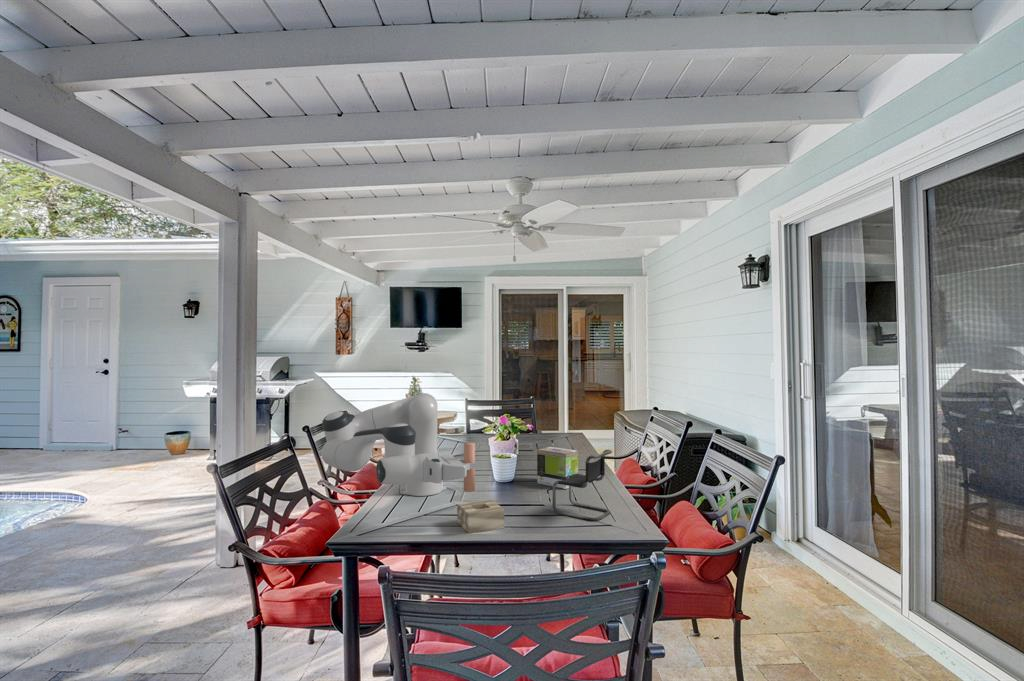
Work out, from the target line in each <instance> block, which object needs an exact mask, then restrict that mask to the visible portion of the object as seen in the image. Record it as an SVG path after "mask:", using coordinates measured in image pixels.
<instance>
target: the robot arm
mask: <svg viewBox="0 0 1024 681" xmlns="http://www.w3.org/2000/svg"><path fill="white" fill-rule="evenodd" d="M321 423H322V426H321V427H322V430H323V431H324V437H325V439H326V440H325V441H326V442H325V443H324V444H323V446H322V448H321V450H320V451H321V452H320V453H321V454H320V455H321V459H322V461H323V462H324V463H325V464H326V465H328V466H330V467H331V468H334V469H337V470H340V471H345V472H358V471H360V470H362V469H363V468H365V466H367V464H368V463H369V462H370V460H371V457H372V454H373V450H374V446H375V443H376V441H380V440H383V443H384V457H383V458H380V459H379V460H377V462H376V469H375V472H376V473H375V475H376V478H377V481H378V483H380V484H381V485H388V486H389V485H390V486H392V485H395V486H396V485H399V494H400V495H407V496H415V497H416V496H417V497H425V496H433V495H437V494H439V493H441V492H442V491H445V490H447V486H446V485H445V484H444V483H443V482H448V481H454V480H461V479H464V477H466V476H467V470H469V469H474V468H475V469H476V462H475V463H473V462H470V463H466V464H465V463H464V458H456V457H455V456H453V454H451V453H450V454H448V453H445V454H438V402H437V400H436V398H435V397H434V396H433V395H432V394H429V393H426V392H425V393H424V392H423V393H418V394H416V395H411V396H409V397H405V398H402V399H399V400H396V401H393V402H391V403H386V404H382V405H380V406H376V407H372V408H369V409H365V410H363V411H361V412H358V413H356V414H352V413H349V412H347V411H343V410H337V411H333V412H331V413H329V414H328V415H326V416H325V417H324V418H323V420H322V422H321Z"/></svg>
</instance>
